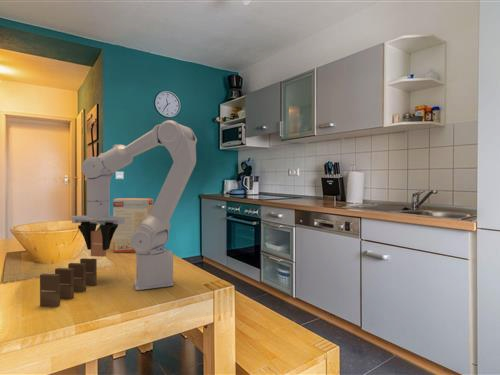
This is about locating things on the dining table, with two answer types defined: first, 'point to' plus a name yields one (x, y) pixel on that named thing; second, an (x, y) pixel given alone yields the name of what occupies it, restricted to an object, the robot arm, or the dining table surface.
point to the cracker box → (129, 220)
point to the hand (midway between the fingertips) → (98, 249)
